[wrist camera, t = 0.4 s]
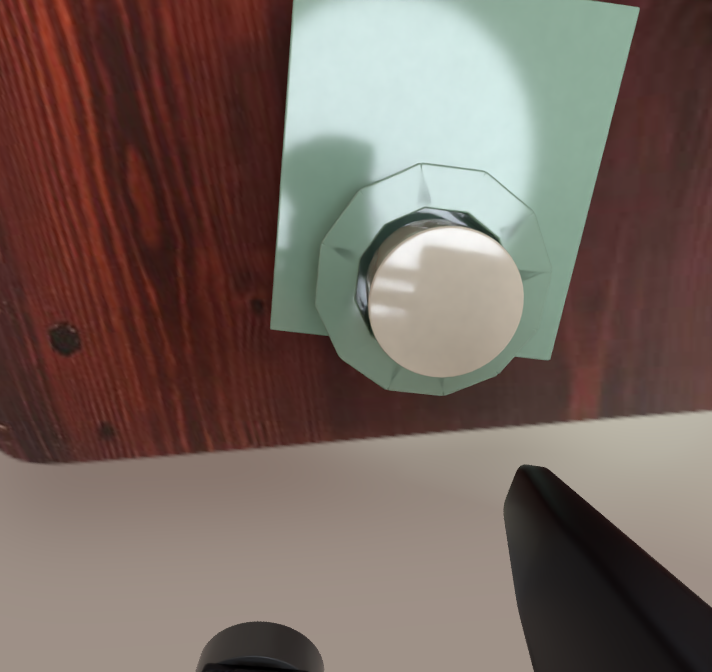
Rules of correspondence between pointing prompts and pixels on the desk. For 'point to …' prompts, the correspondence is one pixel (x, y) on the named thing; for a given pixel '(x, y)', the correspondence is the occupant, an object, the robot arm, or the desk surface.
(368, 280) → the cream cylindrical button
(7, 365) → the desk surface
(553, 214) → the button base
